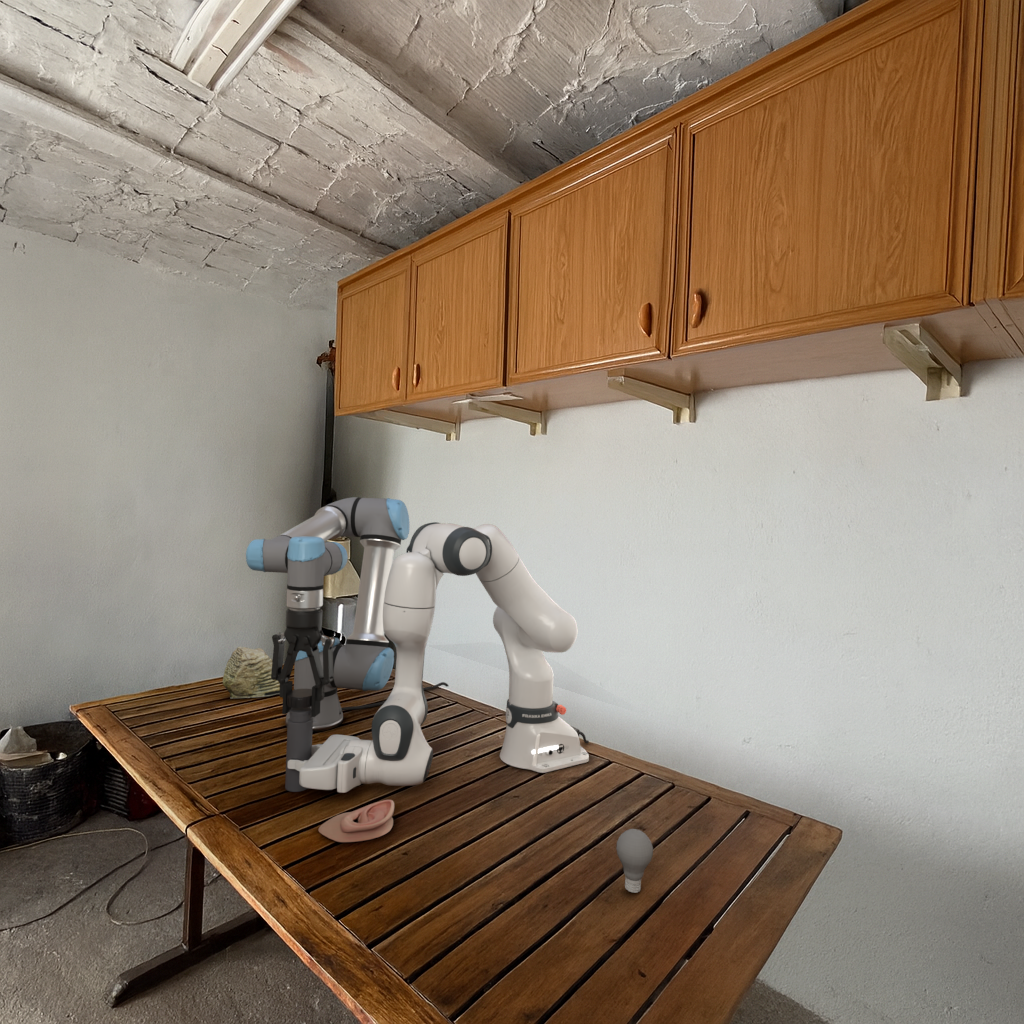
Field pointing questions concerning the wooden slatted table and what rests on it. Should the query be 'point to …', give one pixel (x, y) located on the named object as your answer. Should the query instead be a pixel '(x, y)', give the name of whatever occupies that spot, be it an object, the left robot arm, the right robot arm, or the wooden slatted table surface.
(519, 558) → the right robot arm
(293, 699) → the lid
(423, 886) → the wooden slatted table surface
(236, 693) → the fossil
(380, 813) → the anatomical model
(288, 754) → the jar
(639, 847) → the light bulb
